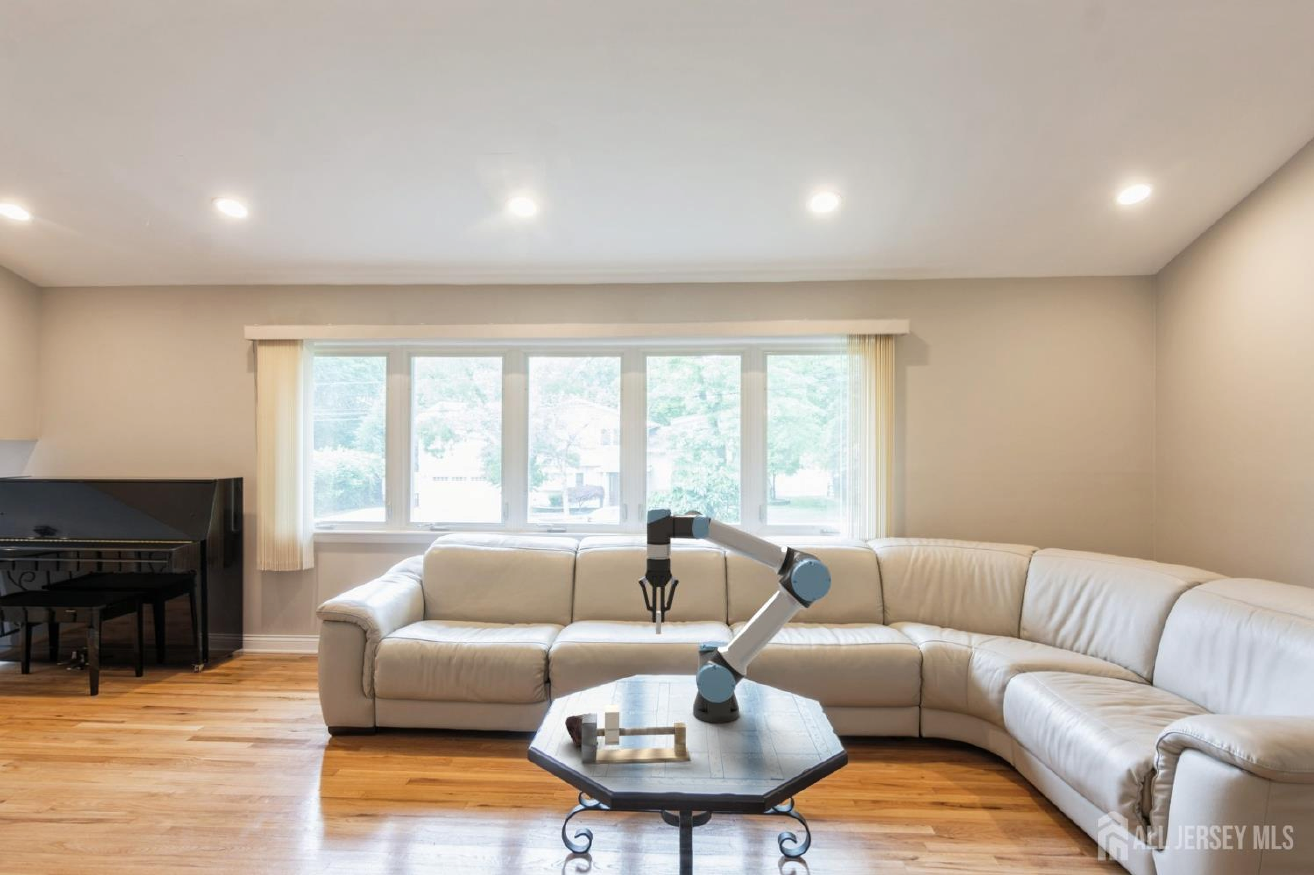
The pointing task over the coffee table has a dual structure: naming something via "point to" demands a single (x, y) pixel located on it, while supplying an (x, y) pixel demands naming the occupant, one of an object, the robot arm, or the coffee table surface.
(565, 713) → the coffee table surface
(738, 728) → the coffee table surface
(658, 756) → the rail
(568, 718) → the rock
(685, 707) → the coffee table surface
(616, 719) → the sleeve
